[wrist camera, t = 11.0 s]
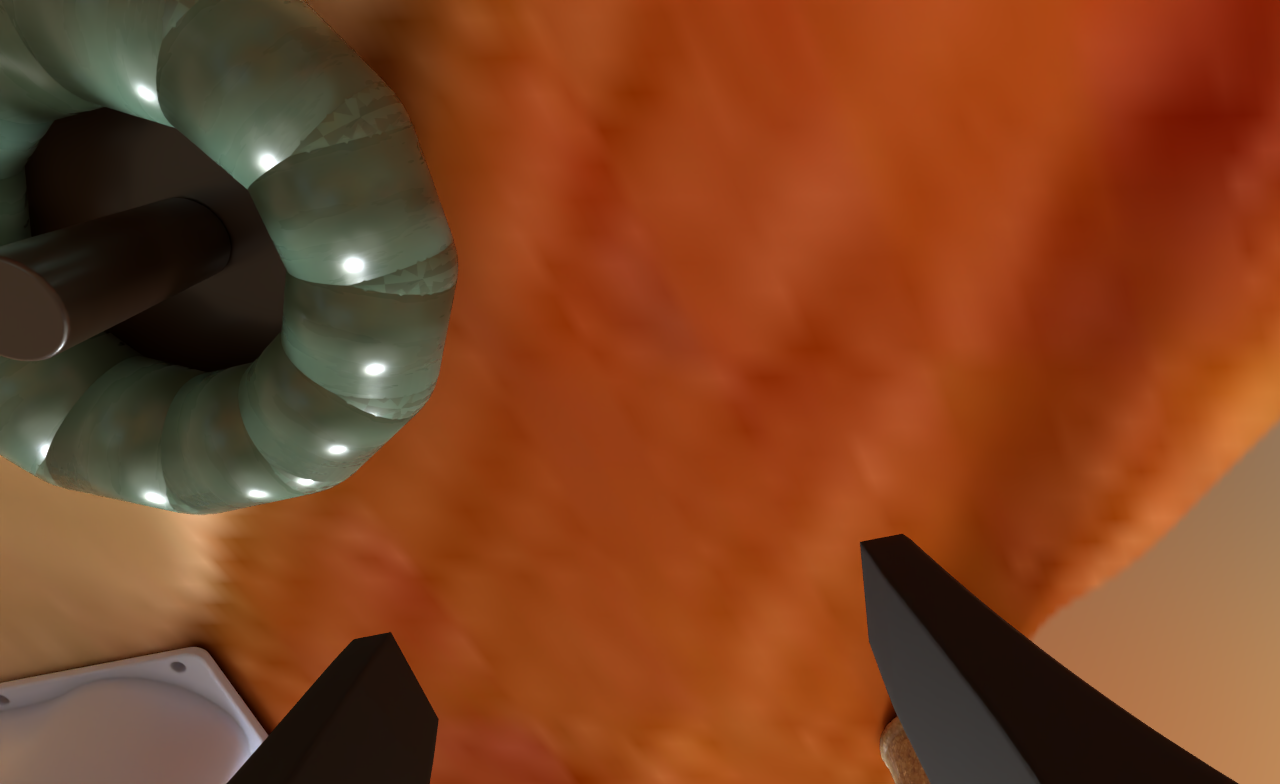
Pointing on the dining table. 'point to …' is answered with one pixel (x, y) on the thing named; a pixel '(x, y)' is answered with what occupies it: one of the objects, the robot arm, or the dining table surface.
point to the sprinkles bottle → (901, 755)
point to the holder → (138, 250)
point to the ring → (297, 223)
